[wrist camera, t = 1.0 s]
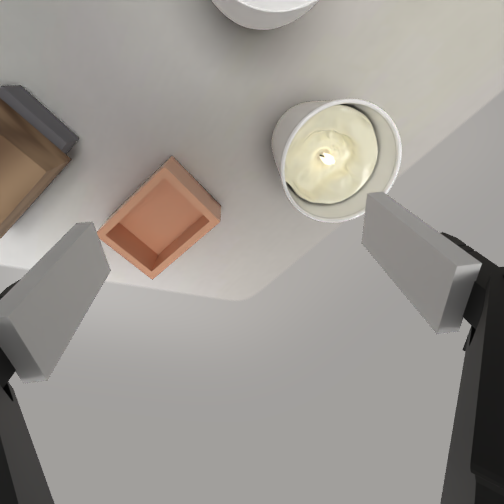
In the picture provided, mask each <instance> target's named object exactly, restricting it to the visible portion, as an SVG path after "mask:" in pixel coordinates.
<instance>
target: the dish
mask: <svg viewBox="0 0 504 504" xmlns="http://www.w3.org/2000/svg"><path fill="white" fill-rule="evenodd" d="M220 217H221V205H220V204H219V203H218V202H217V201H216V200H215V199H214V198H213V197H212V196H211V195H210V194H209V193H208V192H207V191H206V190H205V189H204V188H203V187H202V186H201V185H200V184H199V183H198V182H197V181H196V180H195V179H194V178H193V177H192V176H191V175H190V174H189V173H188V172H187V171H186V170H185V169H184V168H183V166H182V165H181V164H180V163H179V162H178V161H177V160H176V159H175V158H174V157H173V156H171V157H170V158H169V159H168V160H167V161H166V162H165V163H164V164H163V165H162V166H161V167H160V168H159V169H158V170H157V171H156V172H155V173H154V174H153V175H152V176H151V177H150V178H149V179H148V180H147V181H146V182H145V183H144V184H143V185H142V186H141V187H140V188H139V189H138V190H137V191H135V192H134V193H133V194H132V195H131V196H130V197H129V198H128V199H127V200H126V201H125V202H124V203H123V204H122V205H121V206H120V207H119V208H118V209H117V210H116V211H115V212H114V213H113V214H112V215H111V216H110V217H109V218H108V219H107V221H106V222H105V223H104V224H103V225H102V226H101V228H100V229H99V230H98V231H97V234H98V237H99V239H101V240H102V241H103V242H105V243H106V244H107V245H108V246H110V247H111V248H112V249H114V250H115V251H116V252H117V253H119V254H120V255H121V256H123V257H124V258H125V259H126V260H128V261H129V262H130V263H132V264H133V265H134V266H135V267H137V268H138V269H139V270H141V271H142V272H143V273H144V274H146V275H147V276H148V277H150V278H151V279H152V280H153V279H154V278H155V277H156V276H157V275H158V274H160V273H161V272H162V271H163V270H164V269H165V268H167V267H168V266H169V265H170V264H171V263H172V262H174V261H175V260H176V259H177V258H178V257H180V256H181V255H182V254H183V253H184V252H185V251H187V250H188V249H189V248H190V247H191V246H192V245H194V244H195V243H196V242H197V241H198V240H199V239H201V238H202V237H203V236H204V235H205V234H206V233H208V232H209V231H210V230H211V229H212V228H213V227H215V226H216V225H217V224H218V223H219V222H220Z"/></svg>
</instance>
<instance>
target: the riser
mask: <svg viewBox="0 0 504 504" xmlns="http://www.w3.org/2000/svg"><path fill="white" fill-rule="evenodd" d="M0 98H1V99H2V100H3V101H4V102H6V103H7V104H8V105H9V106H10V107H11V108H13V109H14V110H15V111H16V112H17V113H18V114H19V115H21V116H22V117H23V118H24V119H25V120H26V121H28V122H29V123H30V124H31V125H32V126H33V127H35V128H36V129H37V130H38V131H39V132H40V133H42V134H43V135H44V136H45V137H46V138H47V139H48V140H50V141H51V142H52V143H53V144H54V145H55V146H57V147H58V148H59V149H60V150H61V151H62V152H64V153H65V154H66V153H67V152H68V151H69V150H70V149H71V147H72V146H73V145H74V144H75V143H76V142H77V141H78V139H79V138H78V137H77V136H76V135H75V134H74V133H73V132H72V131H71V130H69V129H68V128H67V127H66V126H65V125H64V124H63V123H62V122H61V121H59V120H58V119H57V118H56V117H55V116H54V115H53V114H52V113H51V112H50V111H48V110H47V109H46V108H45V107H44V106H43V105H42V104H41V103H40V102H38V101H37V100H36V99H35V98H34V97H33V96H32V95H31V94H30V93H28V92H27V91H26V90H25V89H24V88H23V87H22V86H1V87H0Z"/></svg>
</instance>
